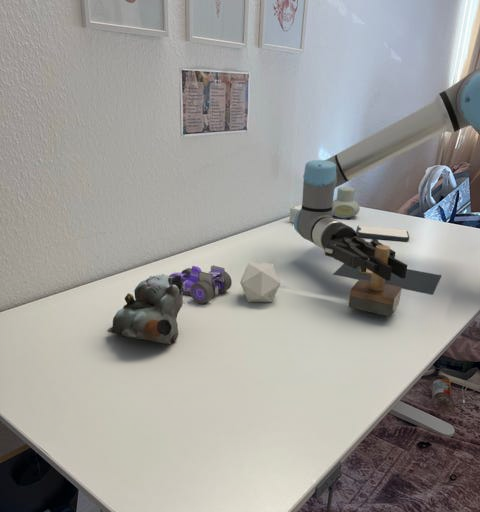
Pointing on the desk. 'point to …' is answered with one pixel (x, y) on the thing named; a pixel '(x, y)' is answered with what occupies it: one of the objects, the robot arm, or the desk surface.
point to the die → (260, 282)
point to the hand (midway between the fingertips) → (397, 272)
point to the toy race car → (204, 283)
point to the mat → (398, 279)
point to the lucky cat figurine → (151, 310)
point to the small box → (294, 212)
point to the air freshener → (345, 203)
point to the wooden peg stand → (376, 290)
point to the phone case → (382, 233)
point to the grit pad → (366, 272)
